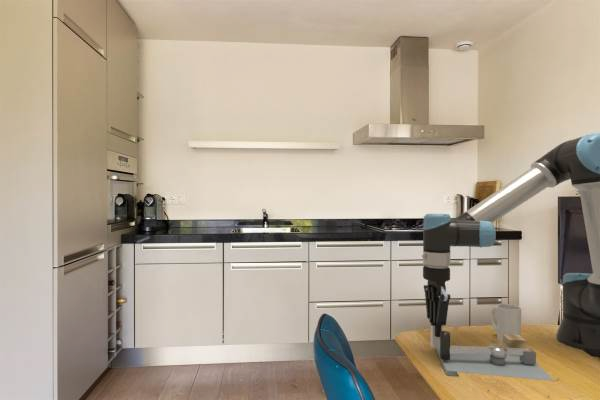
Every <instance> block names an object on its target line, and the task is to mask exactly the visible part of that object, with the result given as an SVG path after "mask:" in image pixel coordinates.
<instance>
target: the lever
mask: <svg viewBox="0 0 600 400" xmlns="http://www.w3.org/2000/svg"><path fill="white" fill-rule="evenodd" d="M450 345H451V332H449V331H447V330H442V331H441V332H440V358H441V359H443V360H450V353H451V354H483V355H491V356H493V357H496V358H506V357H507V355H520V361H521V362H522V363H524V364H536V363H537V352H536V351H534V350H533V349H532V348H527V347H526V348H506V347H504V346H503V345H502V344H501V345H500V344H495V343H494V344H488V346H469V345H466V346H465V345H456V346H450ZM440 358H439V359H440Z"/></svg>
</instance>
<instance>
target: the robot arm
mask: <svg viewBox="0 0 600 400" xmlns="http://www.w3.org/2000/svg"><path fill="white" fill-rule="evenodd" d="M569 180H570V182H571V186H572V187H573V188H575V190H578V191H579V197H580V203H581V209H582V214H583V221H584V226H585V232H586V239H587V244H588V245H587V246H588V250H589V257H590V263H591V269H592V273H587V272H586V273H585V272H584V273H583V272H566V273H564V275H563V277H562V283H561V285H562V320H561V322H560V324H559V327H558V328H557V331H556V335H555V339H556V340H557V342H559V343H561V344H563V345H565V346H567V347H571V348H574V349H577V350H581V351H583V352H585V353H586V354H588V356H589V355H590V356H595V357H596V356H599V357H600V132H596V133H591V134H586V135H583V136H580V137H577V138H574V139H569V140H567V141H564V142H562V143H559V144H558V145H556V146H555V147H553V149H551V150H549V151H548V152H547V153H546V154H544V155H543V156H541V157H540V158H538V159H537V160H535V161H534V162H532V163H531V165H530V168H529V169H528V170H526V171H525V172H523V173H521V174H520V175H519V176H517V177H516V178H514V179H513V180H511V181H509V182H508V183H507V184H505V185H504V186H502V187H501V188H498V189H497V190H496V191H494V192H493V193H492V194H490V195H488V196H487V197H486V198H484V199H483V200H481V201H480V202H478V203H475V205H474V206H472V207H470V208H469V209H468V210H466V211H465V212H463V213H461V214H460V215H458V216H457V217H456V218H455V217H453V218H451V215H450V214H448V213H426V214H425V215H424V216H423V223H422V236H423V237H422V238H423V240H422V244H423V245H422V248H423V249H422V254H421V257H422V259H423V260H422V262H423V263H422V264H424V266H422V278H423V279H424V280H427V284H424V285H423V291H424V297H425V308H426V318H427V320H429V323H430V347H432V348H434V349H436V348H435V347H440V332H441V331H443V330H442V329H443V326H446V325H447V318H448V312H449V302H450V300H451V294H449V293H447V291H446V290H447V287H446V282H449V281H450V280H451V268H450V267H451V247H472V248H475V247H476V248H487V247H488V248H489V247H492V246H493V245H494V244H495V243H496V236H497V233H496V231H497V230H496V227H495V225H494V224H493V223H495V222H497V221H498V220H499V219H501V218H502V217H504V216H505V215H507V214H508V213H510V212H512V211H513V210H515V209H517V208H518V207H519V206H521V205H522V204H524V203H525V202H527V201H529V200H530V199H532V198H533V197H534V196H535V197H536V195H538V194H539V193H540V192H542V191H544V190H546V189H547V188H553V189H554V188H555V187H556V186H558V185H560V184H561V183H564V182H566V181H569Z"/></svg>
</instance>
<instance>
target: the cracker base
mask: <svg viewBox="0 0 600 400" xmlns="http://www.w3.org/2000/svg"><path fill="white" fill-rule="evenodd" d="M450 346H457V345H453V344H450ZM434 349H435V351H436V353H437V356H438V358H439V360H440V362H441V363H440V364H441V365H442V367H443V370H444V372H445V375H446V376H449V377H450V376H452V377H460V375H459V373H470V374H479V375H486V376H487V375H489V376H498V377H499V376H500V377H507V378H508V377H509V378H518V379H527V380H528V379H530V380H541V381H550V382H551V381H552V382H555V380H554V379H553V378H552V377H551V376H550V375H549V373H547V372H546V371H545V370H544V369H543V368H542V367H541V366H540V365H539V364H538V362H536V364H524V363H522V362H521V361H520V356H512V355H507V357H506V358H496V357H493V356H491V355H483V354H451V353H450V360H443V359H441V358H440V347H435V348H434Z"/></svg>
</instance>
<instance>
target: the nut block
mask: <svg viewBox="0 0 600 400" xmlns="http://www.w3.org/2000/svg"><path fill="white" fill-rule="evenodd" d="M502 346H504V347H506V348H527V340H526V339H525V338H523V336H520V335H511V334H503V342H502ZM512 356H520V355H512Z"/></svg>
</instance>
